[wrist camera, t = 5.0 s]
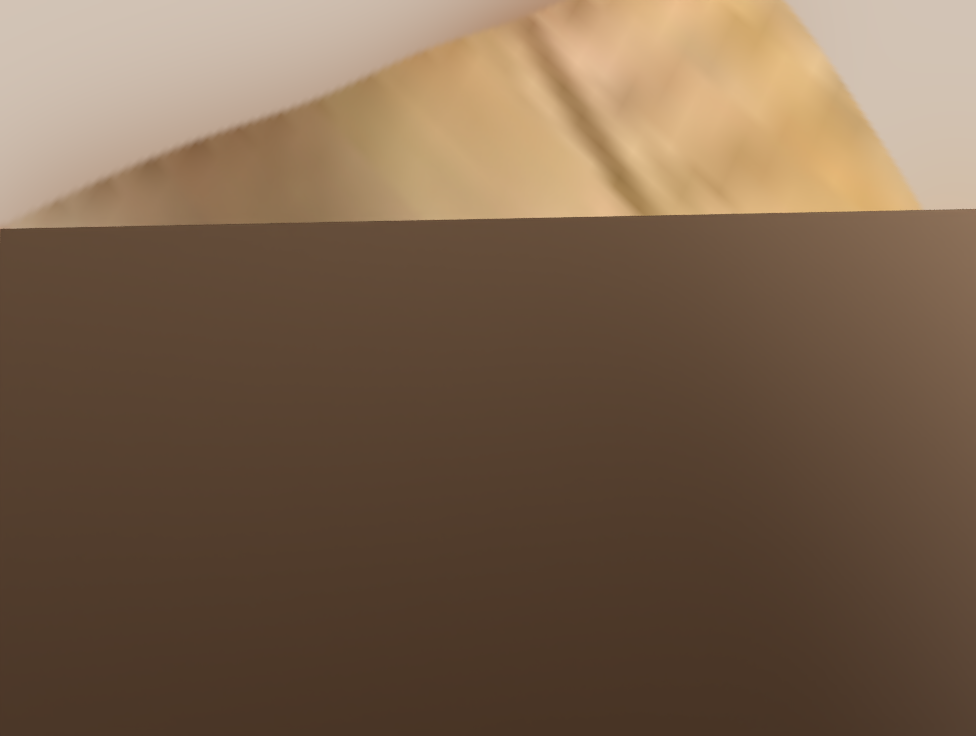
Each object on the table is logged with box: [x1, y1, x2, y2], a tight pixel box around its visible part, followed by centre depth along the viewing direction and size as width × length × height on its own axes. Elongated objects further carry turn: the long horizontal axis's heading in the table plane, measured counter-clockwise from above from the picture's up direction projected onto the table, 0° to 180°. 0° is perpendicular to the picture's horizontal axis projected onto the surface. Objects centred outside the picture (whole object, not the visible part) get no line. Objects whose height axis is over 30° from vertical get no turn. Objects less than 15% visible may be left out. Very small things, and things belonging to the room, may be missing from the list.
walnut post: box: [0, 209, 976, 736], centre depth 9 cm, size 5×5×13 cm
